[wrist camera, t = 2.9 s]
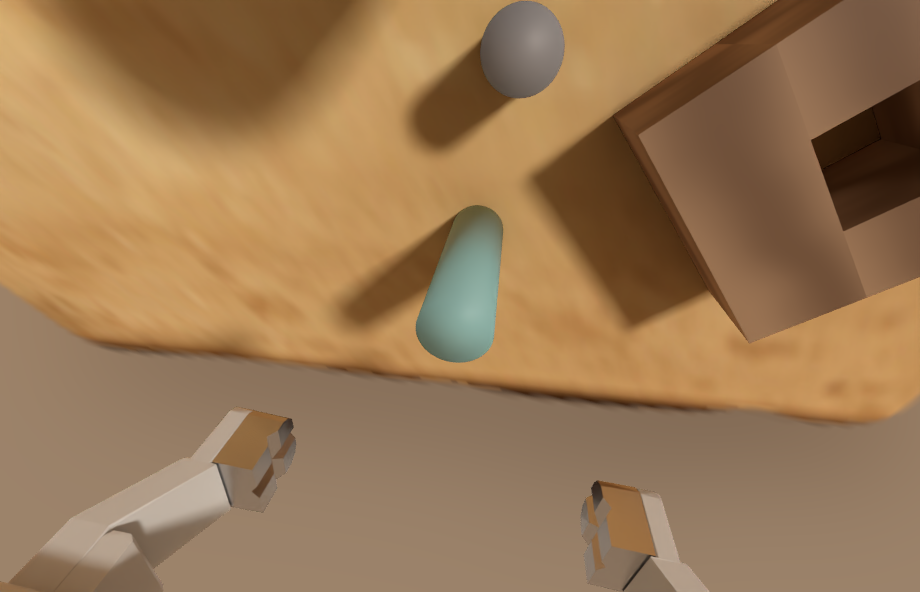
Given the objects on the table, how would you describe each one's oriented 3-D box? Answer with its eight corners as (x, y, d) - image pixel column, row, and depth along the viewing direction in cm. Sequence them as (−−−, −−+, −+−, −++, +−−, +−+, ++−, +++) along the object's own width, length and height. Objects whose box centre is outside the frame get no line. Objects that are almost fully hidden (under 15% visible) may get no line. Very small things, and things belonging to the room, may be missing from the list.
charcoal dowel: (512, 100, 20) (510, 115, 16) (476, 43, 19) (463, 43, 15) (566, 56, 19) (580, 60, 14) (531, -7, 18) (534, -22, 13)
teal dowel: (472, 261, 25) (448, 372, 16) (442, 224, 24) (399, 322, 15) (513, 235, 24) (509, 341, 15) (483, 195, 23) (461, 285, 14)
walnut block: (709, 290, 24) (749, 343, 20) (612, 115, 20) (638, 135, 15) (1030, 143, 18) (1184, 173, 14) (993, -150, 14) (1198, -234, 10)
